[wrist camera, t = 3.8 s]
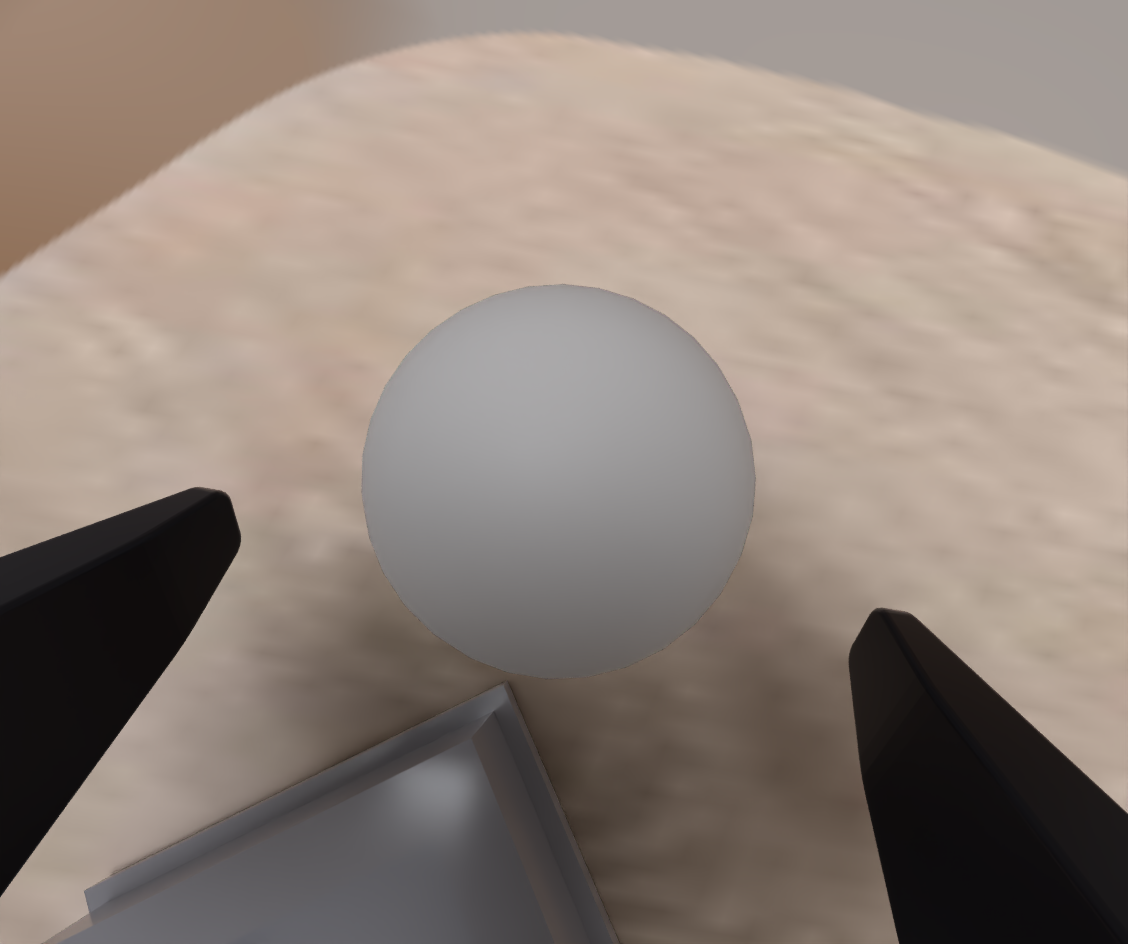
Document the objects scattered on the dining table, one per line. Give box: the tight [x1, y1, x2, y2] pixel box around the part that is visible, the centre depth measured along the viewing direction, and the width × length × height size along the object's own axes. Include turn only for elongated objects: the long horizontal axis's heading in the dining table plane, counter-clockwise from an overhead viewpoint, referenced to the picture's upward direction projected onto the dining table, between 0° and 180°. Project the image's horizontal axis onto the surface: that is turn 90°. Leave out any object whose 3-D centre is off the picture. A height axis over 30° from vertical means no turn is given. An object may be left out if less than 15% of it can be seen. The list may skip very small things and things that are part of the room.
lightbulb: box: [362, 284, 756, 679], centre depth 12 cm, size 6×6×11 cm
